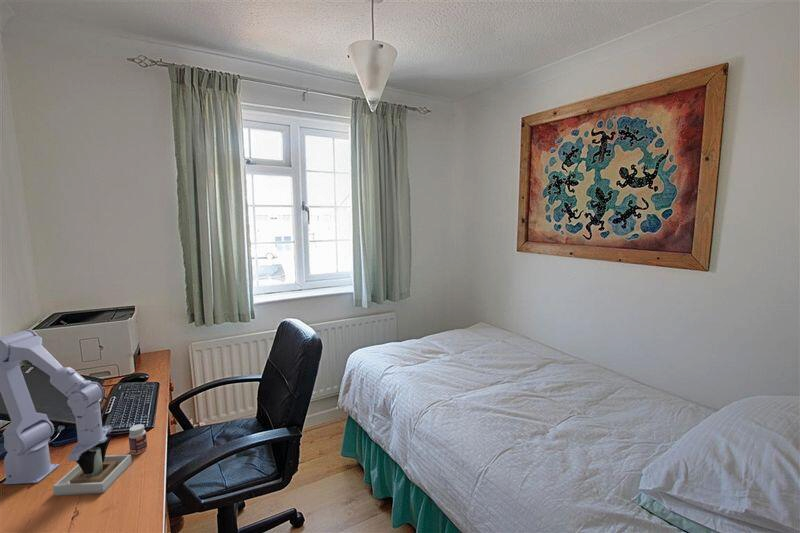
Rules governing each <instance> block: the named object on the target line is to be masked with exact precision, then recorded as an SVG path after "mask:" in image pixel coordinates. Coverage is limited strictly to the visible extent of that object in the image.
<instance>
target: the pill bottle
mask: <svg viewBox="0 0 800 533" xmlns="http://www.w3.org/2000/svg"><path fill="white" fill-rule="evenodd" d="M147 442H148V441H147V431H146V430H145V425H144V424H141V423H138V424H134V425H132V426H130V427H129V435H128V444H129V445H128V446H129V452H130V454H131V455H136V456H137V455H140V454H142V453H145V452H146V451H147V449H148V443H147Z"/></svg>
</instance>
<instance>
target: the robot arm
mask: <svg viewBox="0 0 800 533" xmlns="http://www.w3.org/2000/svg"><path fill="white" fill-rule="evenodd" d="M22 361H28V362H29V363H30V364H32V365H33V366H35V367H36V368H37V369H39V370H40V371H42V372H44V373H45V374H47V375H48V376H49V377H50V378H49V383H50V384H51V385H52V386H53V387H54V388H56V389H57V390H58V391H59V392H61V393H62V394H63V395H64V396H65V397H67V398H68V399H67V400H66V402H67V405H68V407H69V408H70V409H71V411H72V412H71V413H72V415H73V416H74V417H75V418H74V419H75V426H76V435H77V443H76V444H75V446H74V448H73V449H72V451H71V452H70V453H69V454H68V462H75V463H77V465H78V464H79V466H80V467H81V469H82V471H83V473H84V474H92V473H93V471H94V457H95V454H96V451H94V452H90V451H89V449H90V448H93V447H100V448H101V456H102V463H103V462H104V459H105V456H106V454H107V449H108V446H109V444H110V442H111V440H112V438H111V436H107V434H110V433H112V425H103V420H102V413H101V412H102V411H101V403H100V401H101V400H102V398H104V395H105V391H104V388H103V386H102V385H101V384H100V383H99V382H97V381H91V379H90V380H89V379H86V378H84V377H83V376H82V375H81V374H80V373H78V372H77V371H76V370H75V369H74V368H72V367H70V366H69V367H68V366H66V367H64V366H63V365H62V364H61V363H60V362H59V361H58V360H57V359H56V358H55V357H54V356H53V355H52V354H51V353H50V352H49V351H48V350H47V349H46V348H45V347H44V346H43V338H42V336H40V335H39V334H38V333H37V332H36V331H34V330H32V329H30V328H26V329H23V330H21V331H18V332H13V333H11V334H8V335H3V336H0V394H1V397H2V399H3V403H4V405H5V408H6V411H7V414H8V417H9V419H10V423H9V424H8V425H7V427H6V428H4V431H3V433H2V435H3V438H4V440H3V446H4V450H5V451H6V452H7V453H6V455H5V456H4V459H3V467H4V474H5V481H4V482H3V485H18V484H37V483H38V484H39V483H40V482H41V481H42V480H43V479H44V478H46V477H47V476H48V475H49V474H50V473H53V471H54V470H55V469H57V468H58V467H59V466H60V463H52V462H51V457H50V448H49V442H50V441H51V437H52V436H53V434H54V433H55V427H54V424H53V423H52V421H50V419H49V418H48V415H47V414H46V413H42V412H37V411H36V409H35V405H34V402H33V400H32V398H31V397H32V396H31V394H30V391H29V389H28V386H27V382H26V381H25V380H26V379H25V377H24V375H23V372H22V370H21V366H20V363H21V362H22Z"/></svg>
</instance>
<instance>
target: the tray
mask: <svg viewBox="0 0 800 533" xmlns="http://www.w3.org/2000/svg"><path fill="white" fill-rule="evenodd" d="M132 464H133V462H132V454H131V453H130V454H111V455H110V454H109V455H108V454H107V455H106V454H105V459H104V462H103V463H102V465H103V472H102V473H101V474H100V475H99V476H95V477H86V474H84V473H83V471H82V469H81V467H80V466H79V464H78V463H77V464H76V465H75V466H74V467H73V468H71V469H70V471H68V472H67V473H66V474H65V475H64V476H62V478H60V479H59V480H58V481H57V482H55V484H53V486H52V488H53V495H54V496H55V497H57V496H75V495H76V496H78V495H95V494H105V492H106V491H107V490H108V489H109V488H110V487H111V486H112V485H113V484H114V483H115V482H116V480H118V479H119V477H120V476H121V475H122V474H123V473H124V472H125V471H126V470H127V469H128V468H129V467H130V466H131V465H132Z"/></svg>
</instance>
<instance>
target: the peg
mask: <svg viewBox="0 0 800 533" xmlns="http://www.w3.org/2000/svg"><path fill="white" fill-rule="evenodd" d="M89 451H90V452H94V451H96V454H95V457H94V471H93V473H92V474H86V477H95V476H99V475H100V474H101V473H102V472H103V465H102V456H101V448H100V447H93V448H90V449H89Z"/></svg>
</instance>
